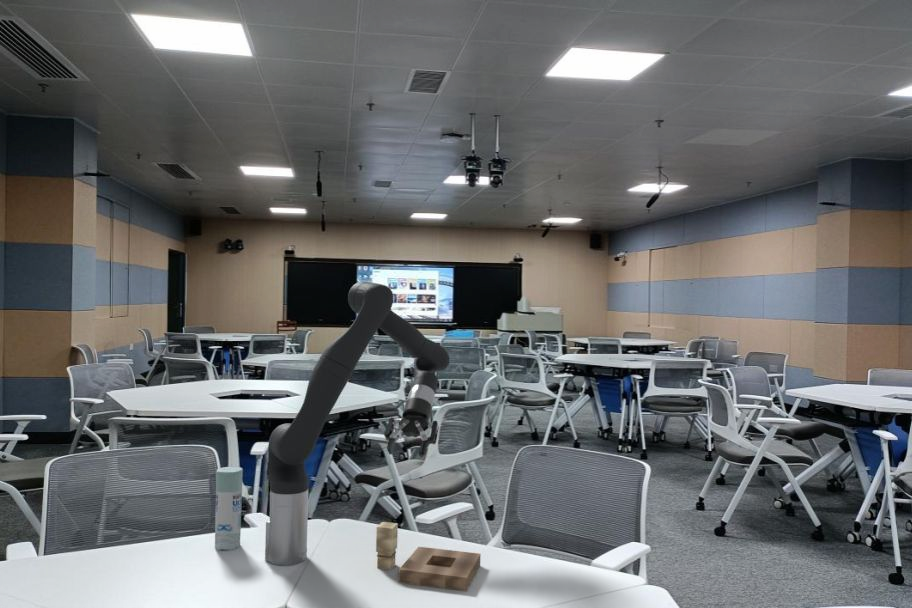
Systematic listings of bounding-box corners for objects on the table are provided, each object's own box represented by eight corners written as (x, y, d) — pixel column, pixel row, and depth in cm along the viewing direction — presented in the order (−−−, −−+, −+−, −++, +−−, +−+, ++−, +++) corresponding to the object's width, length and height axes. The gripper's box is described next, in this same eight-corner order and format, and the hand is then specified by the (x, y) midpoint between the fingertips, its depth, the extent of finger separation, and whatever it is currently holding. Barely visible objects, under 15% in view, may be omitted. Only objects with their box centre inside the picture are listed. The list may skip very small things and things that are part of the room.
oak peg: (375, 568, 156) (376, 526, 156) (381, 562, 160) (382, 521, 160) (391, 570, 155) (392, 528, 155) (396, 564, 159) (397, 523, 159)
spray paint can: (235, 551, 165) (237, 472, 165) (210, 550, 165) (212, 472, 165) (244, 542, 171) (246, 466, 171) (219, 541, 171) (221, 466, 171)
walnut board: (398, 582, 148) (399, 569, 148) (418, 558, 163) (418, 546, 163) (466, 591, 144) (466, 577, 144) (480, 565, 159) (480, 553, 159)
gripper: (392, 395, 180) (376, 444, 169) (441, 397, 177) (428, 448, 165) (398, 411, 185) (383, 459, 174) (445, 414, 182) (433, 464, 170)
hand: (405, 454), depth 170 cm, fingers open, 8 cm apart
